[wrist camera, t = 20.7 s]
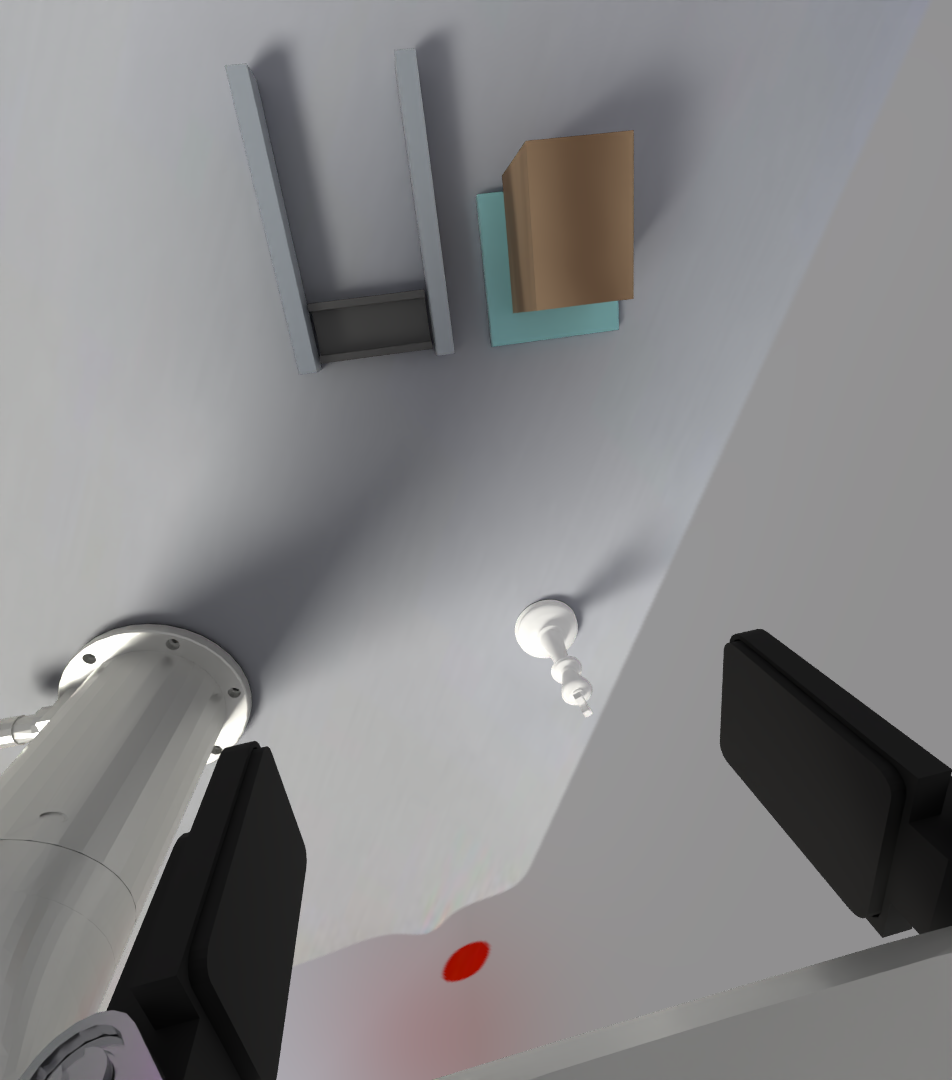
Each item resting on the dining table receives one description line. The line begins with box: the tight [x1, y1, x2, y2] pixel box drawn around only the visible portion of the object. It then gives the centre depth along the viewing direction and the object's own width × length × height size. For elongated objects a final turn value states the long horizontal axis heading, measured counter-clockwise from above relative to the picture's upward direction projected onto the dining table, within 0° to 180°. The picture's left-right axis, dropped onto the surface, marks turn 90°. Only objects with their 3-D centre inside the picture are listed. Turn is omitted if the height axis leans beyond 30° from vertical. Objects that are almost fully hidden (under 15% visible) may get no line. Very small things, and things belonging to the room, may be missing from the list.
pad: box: [476, 191, 619, 347], centre depth 31 cm, size 8×8×1 cm
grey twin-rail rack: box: [225, 48, 455, 375], centre depth 29 cm, size 9×14×2 cm, turn 7°
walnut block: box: [502, 130, 634, 313], centre depth 28 cm, size 5×7×6 cm
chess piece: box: [515, 600, 593, 717], centre depth 37 cm, size 5×5×10 cm
